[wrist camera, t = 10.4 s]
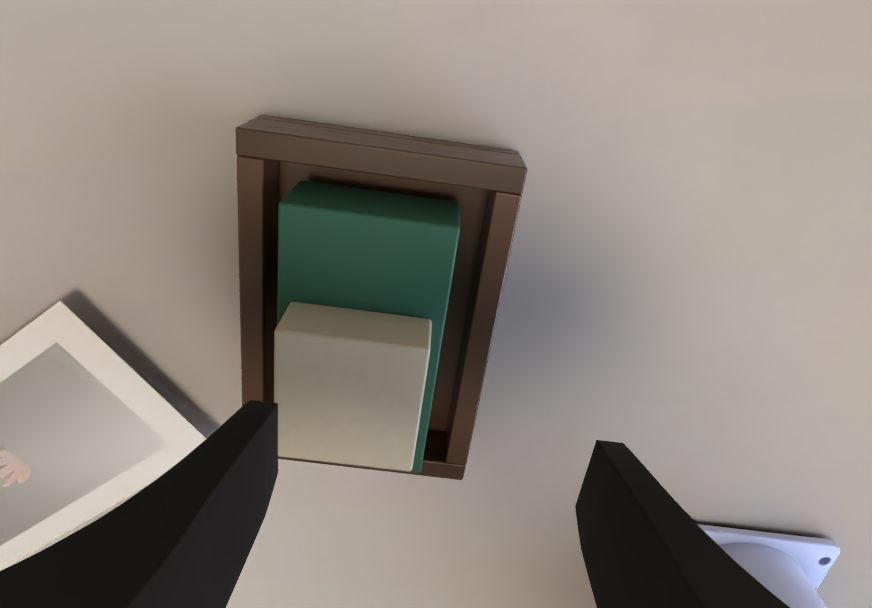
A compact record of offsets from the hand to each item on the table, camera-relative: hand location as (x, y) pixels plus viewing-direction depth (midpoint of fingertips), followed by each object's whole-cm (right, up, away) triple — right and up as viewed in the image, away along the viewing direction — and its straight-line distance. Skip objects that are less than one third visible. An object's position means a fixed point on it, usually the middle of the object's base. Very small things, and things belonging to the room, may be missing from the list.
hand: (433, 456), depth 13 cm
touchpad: (-17, -3, +12) cm, 21 cm away
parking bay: (-2, +4, +8) cm, 9 cm away
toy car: (-2, +3, +8) cm, 9 cm away
